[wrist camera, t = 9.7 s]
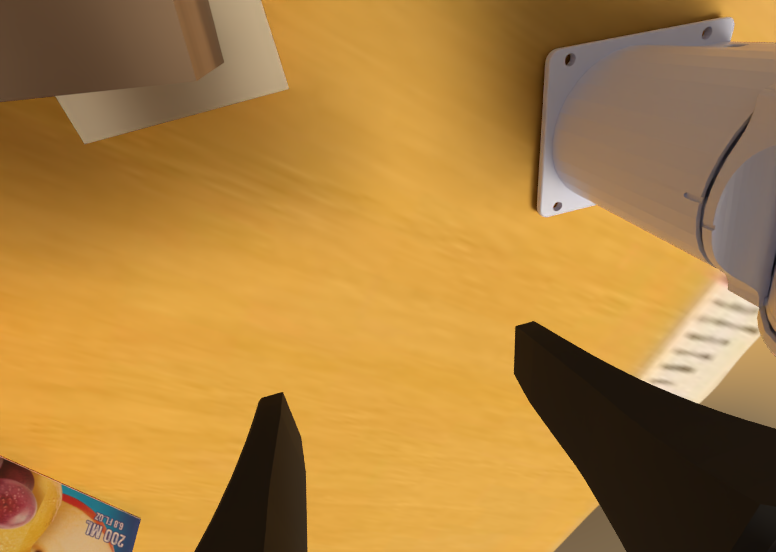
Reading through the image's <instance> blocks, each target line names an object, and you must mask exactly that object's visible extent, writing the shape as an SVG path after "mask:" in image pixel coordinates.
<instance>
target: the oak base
mask: <svg viewBox="0 0 776 552" xmlns="http://www.w3.org/2000/svg"><path fill="white" fill-rule="evenodd" d="M208 1H209V5H210V9H211V13H212V17H213V21H214V25H215V29H216V33H217V36H218V40H219V44H220V48H221V52H222V56H223V60H224V63H223V64H221V65H220V66H218V67H217V68H215V69H214V70H212V71H211V72H209V73H208V74H206V75H205V76H204V77H202V78H201V79H199V80H198V81H193V82H183V83H174V84H165V85H155V86H146V87H136V88H127V89H118V90H108V91H99V92H90V93H80V94H71V95H62V96H55V97H56V98H57V100H58V102H59V103H60V105H61V106H62V108H63V110H64V111H65V113H66V115H67V116H68V118H69V119H70V121H71V123H72V124H73V126H74V128H75V129H76V131H77V132H78V134H79V136H80V137H81V139H82V141H83V142H84V144H87V143H91V142H95V141H98V140H102V139H106V138H110V137H113V136H117V135H121V134H124V133H128V132H132V131H135V130H139V129H143V128H146V127H150V126H154V125H158V124H161V123H165V122H169V121H172V120H176V119H180V118H183V117H187V116H191V115H195V114H198V113H202V112H206V111H209V110H213V109H217V108H220V107H224V106H228V105H231V104H235V103H239V102H243V101H246V100H250V99H254V98H257V97H261V96H265V95H268V94H272V93H276V92H279V91H283V90H287V89H289V87H288V83H287V80H286V77H285V74H284V71H283V68H282V65H281V61H280V58H279V55H278V52H277V49H276V46H275V43H274V40H273V36H272V33H271V30H270V27H269V24H268V21H267V18H266V14H265V11H264V8H263V5H262V2H261V0H208Z"/></svg>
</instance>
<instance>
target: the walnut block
mask: <svg viewBox="0 0 776 552" xmlns="http://www.w3.org/2000/svg"><path fill="white" fill-rule="evenodd" d="M223 63H224V60H223V56H222V52H221V48H220V44H219V40H218V36H217V33H216V29H215V25H214V21H213V17H212V13H211V9H210V5H209V1H208V0H0V102H5V101H15V100H24V99H33V98H43V97H52V96H62V95H71V94H80V93H90V92H99V91H108V90H118V89H127V88H136V87H146V86H155V85H165V84H174V83H183V82H193V81H198V80H199V79H201V78H202V77H204V76H205V75H206V74H208V73H209V72H211V71H212V70H214V69H215V68H217V67H218V66H220V65H221V64H223Z"/></svg>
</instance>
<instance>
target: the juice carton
mask: <svg viewBox="0 0 776 552" xmlns="http://www.w3.org/2000/svg"><path fill="white" fill-rule="evenodd" d="M140 520H141V519H140V518H138V517H136V516H134V515H132V514H129V513H127V512H125V511H123V510H120V509H118V508H116V507H114V506H111V505H109V504H107V503H105V502H102V501H100V500H98V499H96V498H94V497H91V496H89V495H87V494H85V493H82V492H80V491H78V490H76V489H73V488H71V487H69V486H67V485H64V484H62V483H60V482H58V481H55V480H53V479H51V478H49V477H47V476H44V475H42V474H40V473H38V472H35V471H33V470H31V469H29V468H26V467H24V466H22V465H20V464H17V463H15V462H13V461H11V460H8V459H6V458H4V457H2V456H0V552H132V550H133V546H134V543H135V539H136V535H137V531H138V528H139V524H140Z"/></svg>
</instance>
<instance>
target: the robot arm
mask: <svg viewBox="0 0 776 552" xmlns="http://www.w3.org/2000/svg"><path fill="white" fill-rule="evenodd" d="M733 29H734V20H733V19H732V18H731V17H720V18H715V19H710V20H705V21H699V22H694V23H689V24H683V25H678V26H673V27H668V28H662V29H657V30H652V31H647V32H641V33H636V34H631V35H626V36H620V37H615V38H610V39H604V40H599V41H594V42H589V43H583V44H578V45H573V46H568V47H562V48H557V49H554V50H552V51H551V52H550V53H549V54H548V56H547V58H546V62H545V76H544V93H543V111H542V128H541V145H540V162H539V180H538V197H537V212H538V213H539V214H540V215H541V216H543V217H550V216H554V215H558V214H562V213H566V212H570V211H574V210H578V209H582V208H586V207H590V206H594V205H598V206H600V207H602V208H604V209H606V210H608V211H609V212H611V213H613V214H615V215H617V216H619V217H621V218H623V219H625V220H626V221H628V222H630V223H632V224H634V225H636V226H638V227H640V228H642V229H643V230H645V231H647V232H649V233H651V234H653V235H655V236H657V237H659V238H660V239H662V240H664V241H666V242H668V243H670V244H672V245H674V246H675V247H677V248H679V249H681V250H683V251H685V252H687V253H689V254H691V255H692V256H694V257H696V258H698V259H700V260H702V261H704V262H706V263H708V264H709V265H711V266H713V267H715V268H718V269H719V270H721V271H722V272H723V273H725V275H726V277H727V279H728V290H729V291H731V292H733V293H735V294H736V295H738V296H740V297H742V298H744V299H745V300H747V301H749V302H751V303H752V304H754V305H756V306H758V307H759V312H758V316H757V320H758V328H759V331H760V334H761V336H762V339H763V341H764V342H765V344H766V345H767V347H768V348H769V350H770V351H771V352H772V354H774V356H776V43H768V42H730V40H731V37H732V33H733ZM704 30H705V32H704V35H703V36H702V33H703V31H704ZM568 54H570V61H569V63H568V64H567V65H566V64H565V58H566V56H567V55H568ZM557 202H558V204H557V206H556V207H555V208H553V206H554V204H555V203H557ZM514 375H515V376H516V378H517V380H518V382H519V384H520V386H521V388H522V390H523V391H524V393H525V395H526V397H527V398H528V400H529V402H530V403H531V405H532V406H533V408H534V409H535V410H536V412H537V413H538V415H539V416H540V417H541V419H542V420H543V422H544V423H545V424H546V426H547V427H548V428H549V430H550V431H551V433H552V434H553V435H554V437H555V438H556V439H557V441H558V442H559V443H560V445H561V446H562V448H563V449H564V450H565V452H566V453H567V454H568V456H569V457H570V459H571V460H572V461H573V463H574V464H575V465H576V467H577V468H578V470H579V471H580V473H581V474H582V476H583V477H584V479H585V481H586V482H587V484H588V486H589V487H590V489H591V491H592V492H593V494H594V496H595V497H596V499H597V501H598V502H599V504H600V506H601V507H602V509H603V511H604V513H605V514H606V516H607V518H608V520H609V521H610V523H611V525H612V527H613V528H614V530H615V532H616V534H617V535H618V537H619V539H620V541H621V542H622V544H623V546H624V548H625V550H626V551H627V552H776V429H775V428H771V427H768V426H764V425H761V424H758V423H754V422H751V421H747V420H744V419H741V418H738V417H735V416H732V415H729V414H726V413H723V412H720V411H717V410H714V409H712V408H708V407H706V406H703V405H700V404H698V403H695V402H692V401H690V400H687V399H684V398H682V397H679V396H677V395H675V394H672V393H670V392H667V391H665V390H663V389H660V388H658V387H656V386H653V385H651V384H649V383H647V382H644V381H642V380H640V379H638V378H636V377H634V376H632V375H630V374H628V373H626V372H624V371H622V370H620V369H618V368H616V367H614V366H612V365H610V364H608V363H606V362H604V361H602V360H601V359H599V358H597V357H595V356H593V355H591V354H590V353H588V352H586V351H584V350H583V349H581V348H579V347H577V346H576V345H574V344H572V343H570V342H569V341H567V340H565V339H564V338H562V337H560V336H558V335H557V334H555V333H553V332H552V331H550V330H548V329H547V328H545V327H543V326H541V325H540V324H538V323H536V322H534V321H532V322H529V323H525V324H522V325H518V326H516V327H515V357H514ZM194 552H307V509H306V471H305V463H304V455H303V448H302V441H301V436H300V433H299V431H298V428H297V426H296V423H295V421H294V418H293V416H292V414H291V411H290V409H289V406H288V404H287V401H286V399H285V396H284V394H283V392H281V393H277V394H274V395H270V396H267V397H263V398H261V399H260V401H259V403H258V406H257V410H256V413H255V416H254V419H253V422H252V425H251V428H250V431H249V434H248V436H247V439H246V442H245V445H244V447H243V450H242V452H241V455H240V457H239V460H238V462H237V465H236V467H235V470H234V472H233V475H232V477H231V479H230V481H229V484H228V486H227V488H226V490H225V492H224V495H223V497H222V499H221V501H220V503H219V505H218V508H217V510H216V512H215V514H214V516H213V518H212V520H211V522H210V524H209V525H208V527H207V529H206V531H205V533H204V535H203V537H202V539H201V540H200V542H199V544H198V546H197V548H196V550H195V551H194Z"/></svg>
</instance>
